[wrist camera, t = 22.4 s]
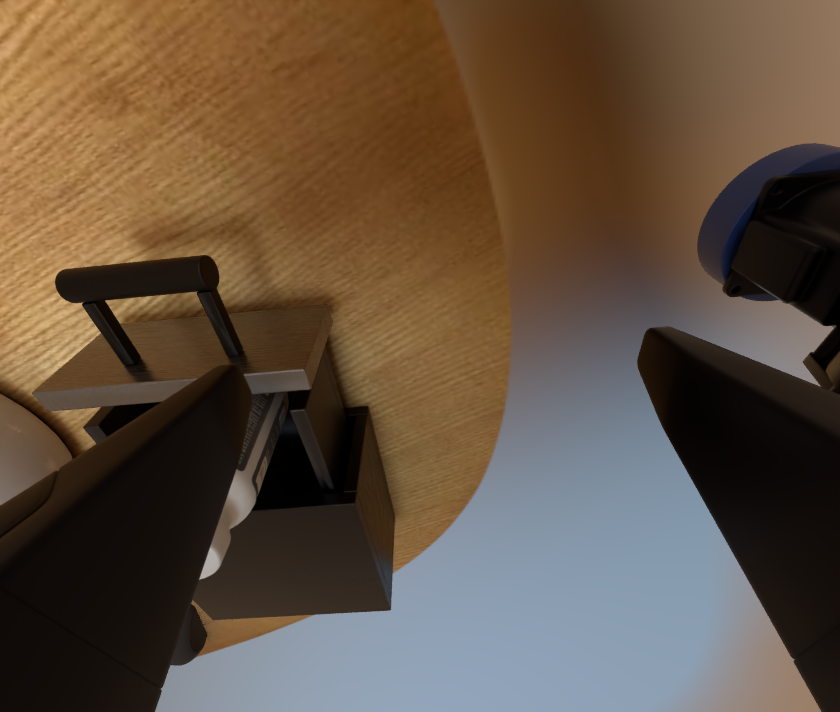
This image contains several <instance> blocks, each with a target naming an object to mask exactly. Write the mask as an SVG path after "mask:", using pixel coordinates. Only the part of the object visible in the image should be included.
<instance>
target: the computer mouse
mask: <svg viewBox="0 0 840 712" xmlns="http://www.w3.org/2000/svg"><path fill="white" fill-rule="evenodd" d="M206 637H207V634H206V632H205V629H204V627H203V625H202V623H201V620H200V618H199V616H198V614H197V611H196V609H195V607H194V606H192V605H190V608H189V611H188V614H187V617H186V620H185V623H184V626H183V629H182V632H181V635H180V638H179V641H178V644H177V647H176V650H175V653H174V655H173V658H172V661H171V664H170V665H184V664H186V663H188V662H190V661H191V660H193V659H194V658H195V657H196V656H197V655H198V654H199V653H200V651H201V650H202V648H203V647H204V644H205V641H206Z"/></svg>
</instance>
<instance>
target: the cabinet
mask: <svg viewBox="0 0 840 712" xmlns="http://www.w3.org/2000/svg"><path fill="white" fill-rule="evenodd" d="M344 411H345V414H346V418H347V421H348V425H349V428H350V431H351V435H352V441H351V447H350V453H349V459H348V465H347V471H346V477H345V483H344V489H343V493H333V494H318V495H304V496H289V497H275V498H261V499H256V503H255V505H254V507H253V508H252V510H251V511H250V513H249V514H248V516H247V517H246V518H245V519H244V520H243V521H242V522H240V523H239V524H238V525H236V526H234V527H233V528H231V529H230V535H231V540H230V544H229V546H228V548H227V551H226V553H225V556H224V558H223V561H222V563H221V565H220V567H219V569H218V570H217V571H216V572H215V573H214V574H212V575H210V576H208V577H206V578H203V579H200V580H199V582H198V585H197V588H196V591H195V593H194V596H193V600H194V601H195V602H196V603H197V604H198V605H199V606H200V607H201V608H202V609H203V610H204V611H205V612H206V613H207V614H208V615H209V616H210V617H211V618H212V619H213V620H223V619H241V618H260V617H278V616H296V615H315V614H331V613H332V614H333V613H350V612H351V613H352V612H370V611H387V610H391V594H392V572H393V549H394V526H395V525H394V524H395V515H394V511H393V507H392V503H391V498H390V494H389V490H388V486H387V482H386V478H385V474H384V469H383V465H382V461H381V457H380V453H379V449H378V445H377V440H376V436H375V432H374V428H373V424H372V420H371V416H370V411H369V407H368V406H366V407H353V408H344Z"/></svg>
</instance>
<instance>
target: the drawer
mask: <svg viewBox="0 0 840 712" xmlns="http://www.w3.org/2000/svg"><path fill="white" fill-rule="evenodd" d="M218 284H219V271H218V268H217V265H216V263H215V262H214V260H213V259H212V258H211V257H209V256H207V255H201V256H191V257H181V258H171V259H161V260H151V261H142V262H132V263H122V264H112V265H102V266H92V267H82V268H73V269H64V270H62V271H60V272H59V273H58V274H57V276H56V279H55V285H56V289H57V291H58V293H59V294H60V296H61V297H62V298H64V299H65V300H66V301H69V302H71V303H83V302H84V303H83V304H82V306H83V307H84V309H85V310H86V312H87V313H88V315H89V316H90V318H91V319H92V320H93V322H94V323H95V325H96V326H97V328H98V329H99V331H100V332H101V334H100V335H98V336H97V337H96V338H95V339H94V340H93V341H91V342H90V343H89V344H88V345H87V346H86V347H84V348H83V349H82V350H81V351H80V352H79V353H77V354H76V355H75V356H74V357H73V358H72V359H70V360H69V361H68V362H67V363H66V364H65V365H63V366H62V367H61V368H60V369H59V370H58V371H56V372H55V373H54V374H53V375H52V376H51V377H49V378H48V379H47V380H46V381H45V382H44V383H42V384H41V385H40V386H39V387H38V388H37V389H35V390H34V391H33V392H32V394H33V395H34V396H35V397H36V399H37V400H38V401H39V402H40V403H41V404H42V405H43V406H44V407H45V408H46V410H47V411H59V410H71V409H83V408H95V407H101V408H100V409H99V410H98V412H97V413H96V414H95V415H94V416H93V417H92V418H91V419H90V420H89V421H88V422H87V424H86V425H85V426H84V427H83V428H84V429H85V430H86V432H87V433H88V434H89V435H90V436H91V437H92V439H93V440H94V441H95V442H96V443H99V442H100V441H102V440H104V439H105V438H107V437H108V436H110V435H111V434H113V433H114V432H116V431H118V430H119V429H121V428H122V427H124V426H125V425H127V424H128V423H130V422H131V421H133V420H135V419H136V418H138V417H139V416H141V415H142V414H144V413H145V412H147V411H149V410H150V409H152V408H153V407H155V406H156V405H158V404H159V403H161V402H162V401H164V400H166V399H167V398H169V397H170V396H172V395H173V394H175V393H176V392H178V391H179V390H181V389H183V388H184V387H186V386H187V385H189V384H190V383H192V382H193V381H195V380H197V379H198V378H200V377H201V376H203V375H204V374H206V373H207V372H209V371H210V370H212V369H214V368H215V367H217V366H219V365H229V364H236V365H238V366H239V367H240V368H241V370H242V372H243V374H244V376H245V378H246V380H247V383H248V385H249V387H250V389H251V391H252V394H264V393H276V392H287V393H288V400H289V406H288V411H287V414H286V417H285V421H284V424H283V426H282V429H281V432H280V435H279V437H278V440H277V443H276V446H275V448H274V451H273V454H272V457H271V460H270V463H269V465H268V468H267V470H266V473H265V476H264V479H263V482H262V485H261V488H260V491H259V494H258V496H257V499H261V498H275V497H289V496H304V495H318V494H333V493H343V489H344V483H345V477H346V471H347V465H348V459H349V453H350V447H351V441H352V435H351V431H350V428H349V425H348V421H347V418H346V414H345V411H344V408H343V404H342V401H341V397H340V394H339V391H338V387H337V384H336V380H335V377H334V374H333V370H332V367H331V363H330V360H329V356H328V353H327V350H326V347H325V344H326V341H327V338H328V335H329V332H330V329H331V326H332V322H333V321H332V317H331V314H330V310H329V306H328V305H327V304H325V305H314V306H304V307H293V308H282V309H271V310H261V311H250V312H239V313H229V314H228V313H227V311H226V309H225V306H224V304H223V302H222V300H221V297H220V295H219V293H218V291H217V286H218ZM197 291H198V292H197ZM187 292H197V295H198V297H199V299H200V302H201V304H202V306H203V308H204V310H205V312H206V314H207V316H197V317H186V318H175V319H165V320H154V321H143V322H133V323H122V324H120V323H119V322H118V320H117V319H116V317H115V316H114V314H113V312H112V311H111V309H110V308H109V306H108V305H107V303H106V302H105V300H114V299H125V298H135V297H145V296H156V295H166V294H176V293H187Z"/></svg>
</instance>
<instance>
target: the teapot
mask: <svg viewBox="0 0 840 712" xmlns="http://www.w3.org/2000/svg"><path fill="white" fill-rule="evenodd" d="M71 460H73V458H72V456H71V454H70V452H69V451H68V449H67V447H66V446H65V445H64V443H63V442H62V441H61V440H60V439H59V437H58V436H57V435H56V434H55V433H54V432H53V431H52V430H51V429H50V428H49V427H48V426H47V425H45V424H44V423H43V422H42V421H41V420H40V419H38V418H37V417H36V416H35V415H33V414H32V413H31V412H29V411H28V410H27V409H25V408H24V407H22V406H20V405H19V404H17V403H16V402H14V401H12V400H11V399H9V398H7V397H6V396H4V395H2V394H0V505H2V504H4V503H5V502H7V501H8V500H10V499H11V498H13V497H15V496H16V495H18V494H19V493H21V492H23V491H24V490H26V489H27V488H29V487H31V486H32V485H34V484H35V483H37V482H38V481H40V480H41V479H43V478H45V477H46V476H48V475H49V474H51V473H52V472H54V471H59V469H60V467H62V466H63V465H65V464H66V463H68V462H69V461H71Z"/></svg>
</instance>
